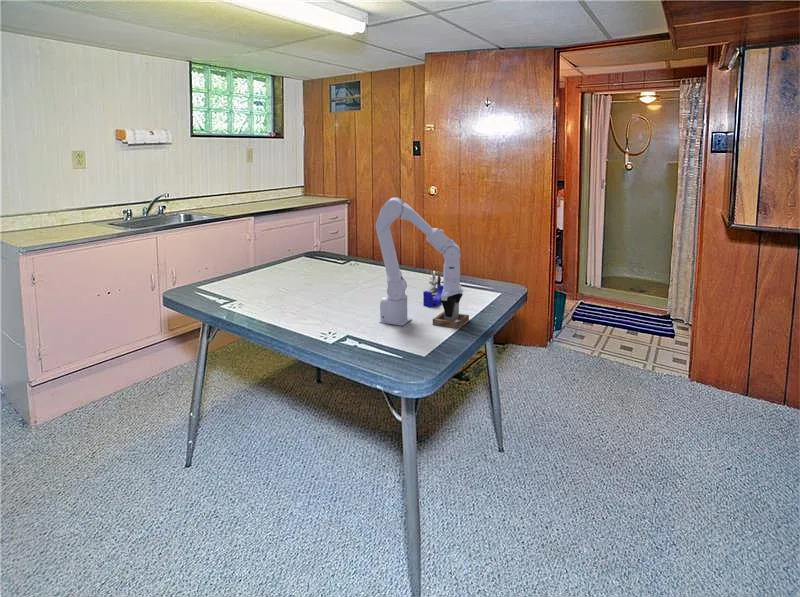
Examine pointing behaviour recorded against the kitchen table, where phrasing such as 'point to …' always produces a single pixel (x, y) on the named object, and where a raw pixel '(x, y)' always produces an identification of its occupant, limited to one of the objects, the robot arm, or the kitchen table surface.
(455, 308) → the grey block
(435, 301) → the cable clip
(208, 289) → the kitchen table surface
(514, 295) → the kitchen table surface
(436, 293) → the bike brake
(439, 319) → the brown square frame
